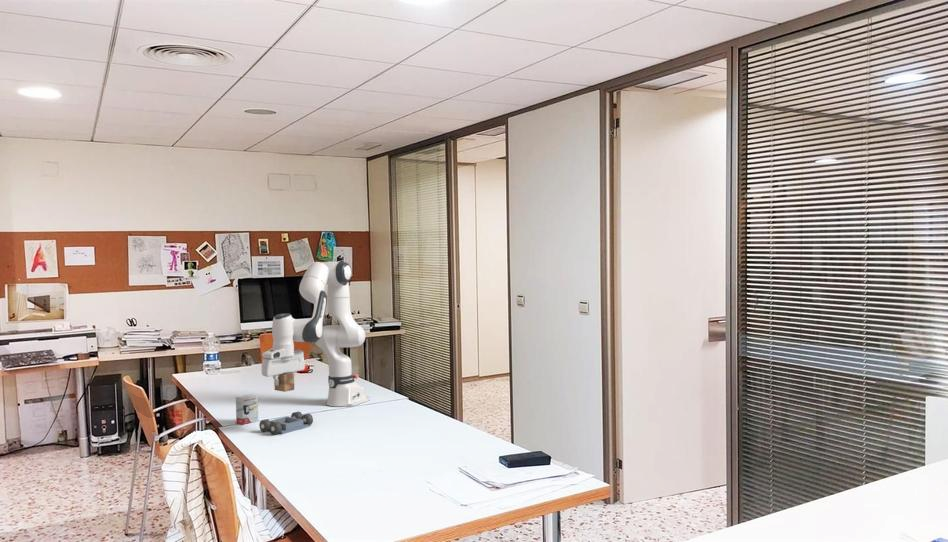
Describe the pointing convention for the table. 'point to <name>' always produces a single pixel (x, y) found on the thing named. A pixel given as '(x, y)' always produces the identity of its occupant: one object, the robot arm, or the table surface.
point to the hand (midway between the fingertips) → (284, 383)
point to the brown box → (285, 382)
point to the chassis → (286, 423)
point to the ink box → (246, 409)
